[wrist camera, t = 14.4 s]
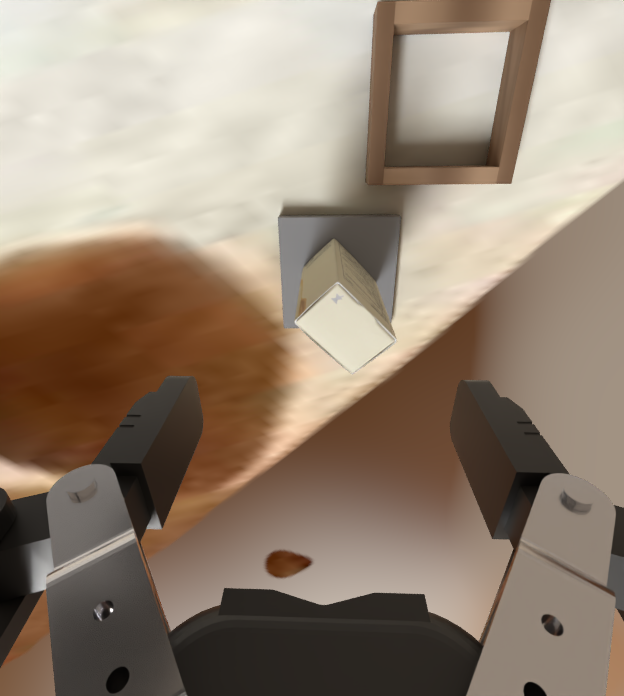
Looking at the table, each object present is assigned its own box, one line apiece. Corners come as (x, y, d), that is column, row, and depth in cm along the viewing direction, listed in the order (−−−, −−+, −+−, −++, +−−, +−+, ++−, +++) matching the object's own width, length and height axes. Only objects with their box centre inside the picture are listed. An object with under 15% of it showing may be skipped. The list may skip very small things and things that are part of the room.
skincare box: (301, 268, 36) (287, 319, 26) (334, 235, 35) (334, 276, 24) (346, 313, 38) (351, 378, 27) (379, 284, 37) (399, 342, 26)
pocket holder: (365, 181, 34) (368, 185, 31) (373, 15, 28) (377, 1, 26) (496, 180, 33) (511, 183, 30) (530, 10, 28) (551, -5, 25)
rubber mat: (285, 323, 40) (283, 328, 39) (279, 215, 35) (278, 217, 34) (389, 324, 40) (390, 328, 39) (398, 214, 35) (401, 216, 34)
